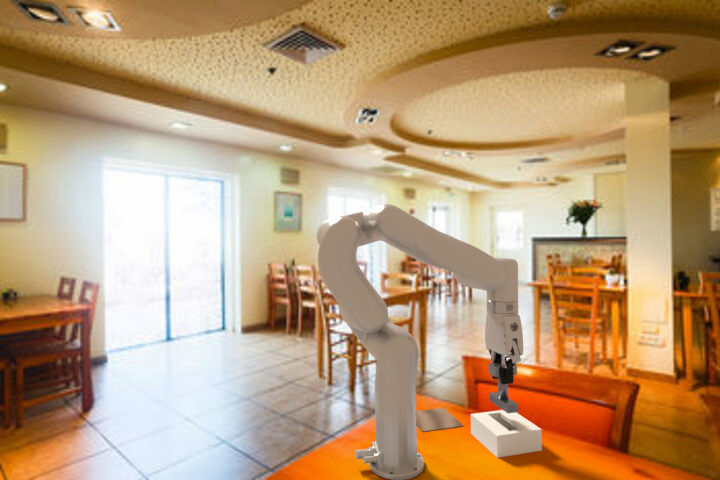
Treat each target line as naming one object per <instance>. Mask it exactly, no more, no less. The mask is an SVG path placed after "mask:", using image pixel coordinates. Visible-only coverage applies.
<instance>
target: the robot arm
mask: <svg viewBox="0 0 720 480" xmlns="http://www.w3.org/2000/svg"><path fill="white" fill-rule="evenodd" d="M316 239H317V240H316V241H317V244H318V245H319V247H318V253H317V265H318V271H319V274H320V277H321V279H322V281H323V282H324V283H323V284H324V285H325V286H326V288H327V289H328V291H329V292H330V294H331V295H332V296H333V298H334V299H335V301H336V303H337V304H338V305H339V306H338V308H339V313H340V315H341V318H342V319H343V321H344V322H345V324H347V326H348V327H349V329H350V330H351V332H352V333H353V334H354V335H355V337H356V338H357V339H358V340H359V342H360V343H361V345H362V346H363V348H364V349H366V351H367V352H368V353H369V354H370V355H371V356H372V357H373V358H374V359H375V360H376V371H375V376H374V377H375V378H374V423H375V424H374V426H375V429H374V431H375V432H374V434H375V441H371V446H369V447H368V448H364V449H355V452H354V454H355V455H354V456H355V459H356V460H363V464H368V465H369V469H371V471H372V472H373V474H376V475H377V476H378V477H382V478H384V479H387V480H410V479H412V478H415V477H417V476H418V475H420V474H421V473H422V472H423V470H424V468H425V460H424V457H423V456H422V454H421V453H420V452H418V437H417V436H418V433H417V431H418V430H417V428H418V426H417V420H416V411H417V371H418V365H419V358H420V357H419V356H420V355H419V354H420V351H419V345H418V343H417V341H416V339H415V337H414V336H413V335H412V334H411V333H410V331H408V330H407V329H404V328H403V327H401V326H400V325H397V324H396V323H395V324H394V322H393V321H392V320H391V319H390V317H389V309H388V306H387V304H386V301H385V300H384V299H383V297H382V296H381V295H380V294H379V292H377V290H376V289H375V287H374V286H373V284H371V282H370V280H369V279H368V277H366V275H365V274H364V272H363V271H362V269H361V267H360V265H359V262H358V257H357V251H358V247H362V246H366V245H370V244H372V243H375V242H379V241H381V242H384V243H386V244H388V245H390V246H391V247H393V248H395V249H398V250H399V251H400V252H403V253H404V254H406V255H408V256H409V257H410V258H413V259H415V260H416V261H419V262H420V263H423V264H425V265H428V266H432V267H435V268H440V269H443V270H446V271H448V272H451V273H453V277H454V279H455V281H456V282H457V283H458V284H459V285H462V286H463V287H467V288H470V289H477V290H482V291H486V317H485V326H484V330H485V331H484V340H485V347H486V350H487V351H488V352H489V355H490V363H498V362H502V367H501V383H502V384H508V385H510V384H511V385H512V384H514V375H513V368H514V367H515V364H516V365H517V364H518V363H520V362H521V361H522V358H521V356H523V354H524V336H523V335H524V334H523V326H522V325H523V324H522V321H521V315H519V264H518V261H517V260H516V259H514V258H503V257H502V258H501V257H499V258H496V257H493V256H491V254H488V253H487V252H485V251H483V250H481V249H480V248H478V247H476V246H475V245H472V244H470V243H468V242H465V241H462V240H460V239H458V238H456V237H453V236H451V235H449V234H447V233H444V232H442V231H440V230H438V229H436V228H434V227H432V226H430V225H429V224H427V223H425V222H424V221H422V220H420V219H418V218H417V217H415V216H414V215H412V214H410V213H408V212H406V211H405V210H403V209H401V208H400V207H398V206H396V205H393V204H389V203H388V204H387V203H385V204H380V205H377V206H374V207H370V208H368V209H365V210H362V211H357V212H354V213H351V214H350V213H349V214H346V215H338V216H337V215H336V216H334V217H331V218H329V219H326V220H324V221H323V222H322V223H321V224H320V225H319V227H318V229H317V232H316ZM491 378H492V379H493V380H498V377H494V376H493V375H491Z"/></svg>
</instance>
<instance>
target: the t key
mask: <svg viewBox="0 0 720 480" xmlns="http://www.w3.org/2000/svg"><path fill="white" fill-rule="evenodd" d="M501 367H502V362H498V363H493V362H490V363H489V362H488V374H489V375H491V376H492V375H493V376H494V377H498V379H497V391H494V392H488V397H489V398H488V400H489V402H490V403H492V404H494V405H495V406H497V408H499V409H500V410H504V411H505V412H506V413H515V412H516V413H519V403H517V402H516V401H514V400H513V399H511V398H509V384H502V383H501ZM517 375H518V366H517V363H516V364H515V367H514V368H513V376H517Z"/></svg>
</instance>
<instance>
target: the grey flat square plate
mask: <svg viewBox="0 0 720 480" xmlns="http://www.w3.org/2000/svg"><path fill="white" fill-rule="evenodd" d="M416 420H417V428H418V429H419V430H420V432H421V433H424V432H425V433H427V432H432V431H441V430H447V429H455V428H462V427H464V424H463V423H462V422H460V421H459V420H458V419H457V418H456V417H455V416H454V415H453V414H452V413H450V412H449V411H448V410H447V409H446V408H445V407H439V408H431V409H430V408H429V409H422V410H416Z"/></svg>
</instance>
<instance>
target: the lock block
mask: <svg viewBox="0 0 720 480" xmlns="http://www.w3.org/2000/svg"><path fill="white" fill-rule="evenodd" d="M542 433H543V432H542V428H540V427H539V426H537V425H536V424H534V423H533V422H531V421H530V420H528V419H527V418H525V417H524V416H522V415H521V414H519V412H515V413H506V412H505V411H504V410H502V409H499V410H492V411H491V410H490V411H484V412H477V413H476V412H475V413H470V434H471V435H472V436H473V437H474V438H476V440H478V442H480V443H481V444H482V445H483V446H484V447H485V448H486V449H487V450H488V451H490V453H491V454H493V455H494V456H495V457H496V458H505V457H509V456H516V455H522V454H528V453H534V452H541V451H543V444H542V443H543V441H542V440H543V439H542V438H543V435H542Z"/></svg>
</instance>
